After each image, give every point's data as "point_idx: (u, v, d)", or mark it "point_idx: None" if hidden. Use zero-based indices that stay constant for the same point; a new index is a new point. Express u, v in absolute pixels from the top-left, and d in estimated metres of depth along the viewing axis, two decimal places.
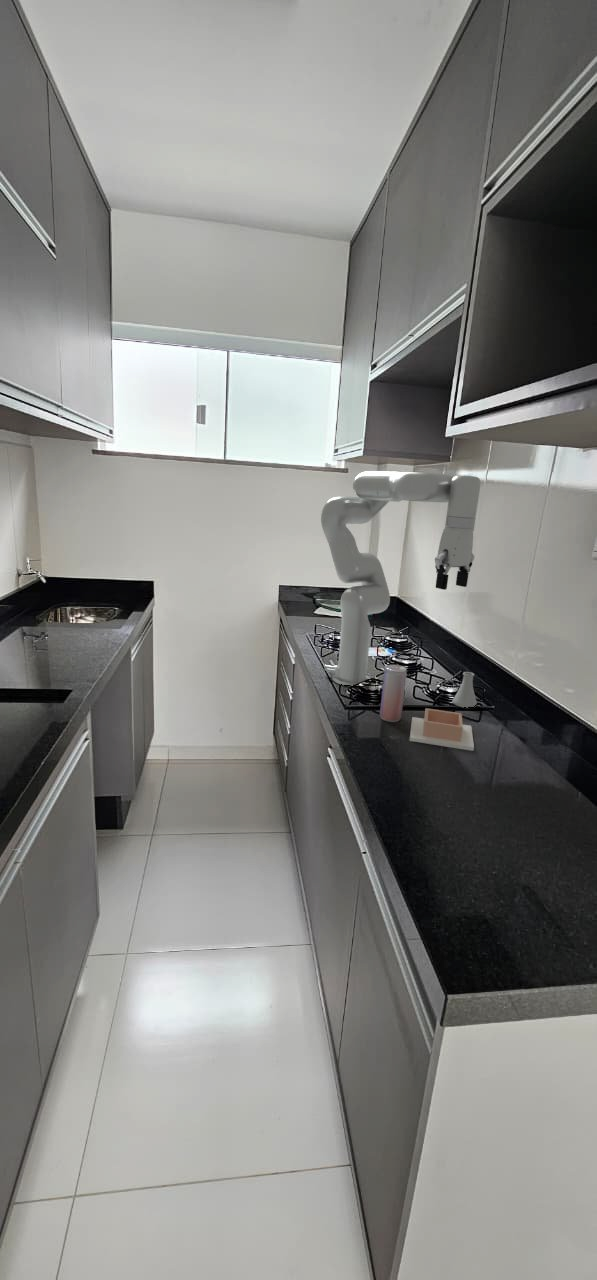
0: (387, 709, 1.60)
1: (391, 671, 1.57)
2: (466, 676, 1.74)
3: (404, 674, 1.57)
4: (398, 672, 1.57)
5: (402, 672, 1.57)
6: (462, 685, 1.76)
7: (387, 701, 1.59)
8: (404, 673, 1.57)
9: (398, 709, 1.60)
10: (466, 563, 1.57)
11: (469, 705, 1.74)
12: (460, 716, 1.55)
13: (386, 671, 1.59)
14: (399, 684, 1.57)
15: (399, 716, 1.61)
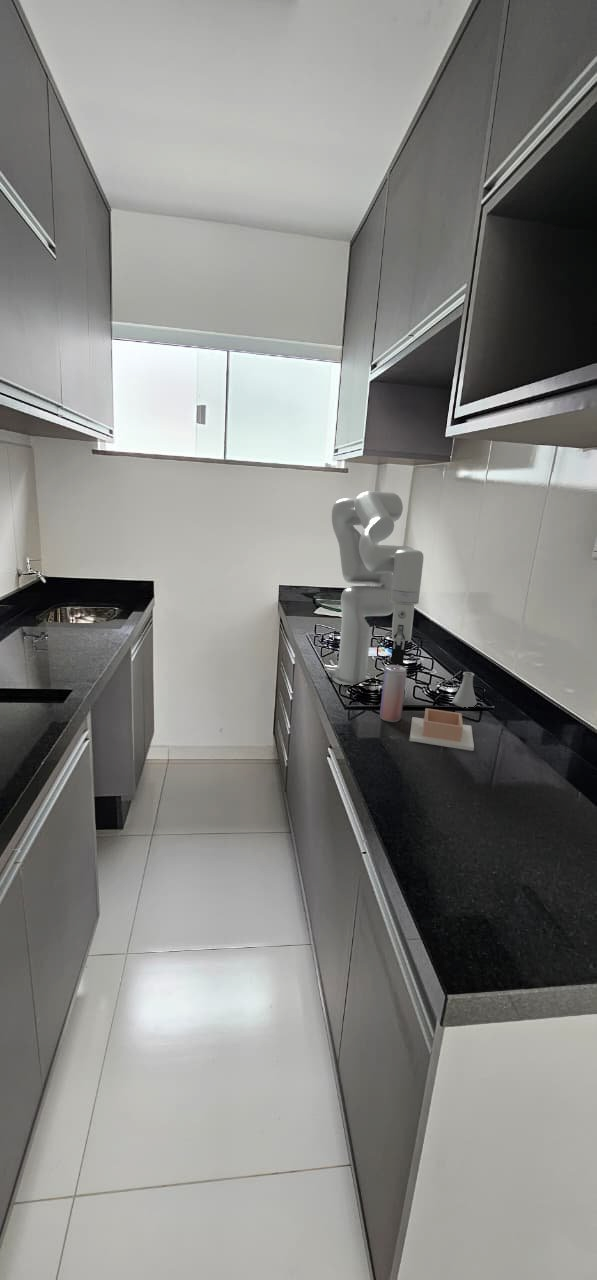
0: (387, 709, 1.60)
1: (391, 671, 1.57)
2: (466, 676, 1.74)
3: (404, 674, 1.57)
4: (398, 672, 1.57)
5: (402, 672, 1.57)
6: (462, 685, 1.76)
7: (387, 701, 1.59)
8: (404, 673, 1.57)
9: (398, 709, 1.60)
10: None
11: (469, 705, 1.74)
12: (460, 716, 1.55)
13: (385, 671, 1.59)
14: (399, 684, 1.57)
15: (399, 716, 1.61)
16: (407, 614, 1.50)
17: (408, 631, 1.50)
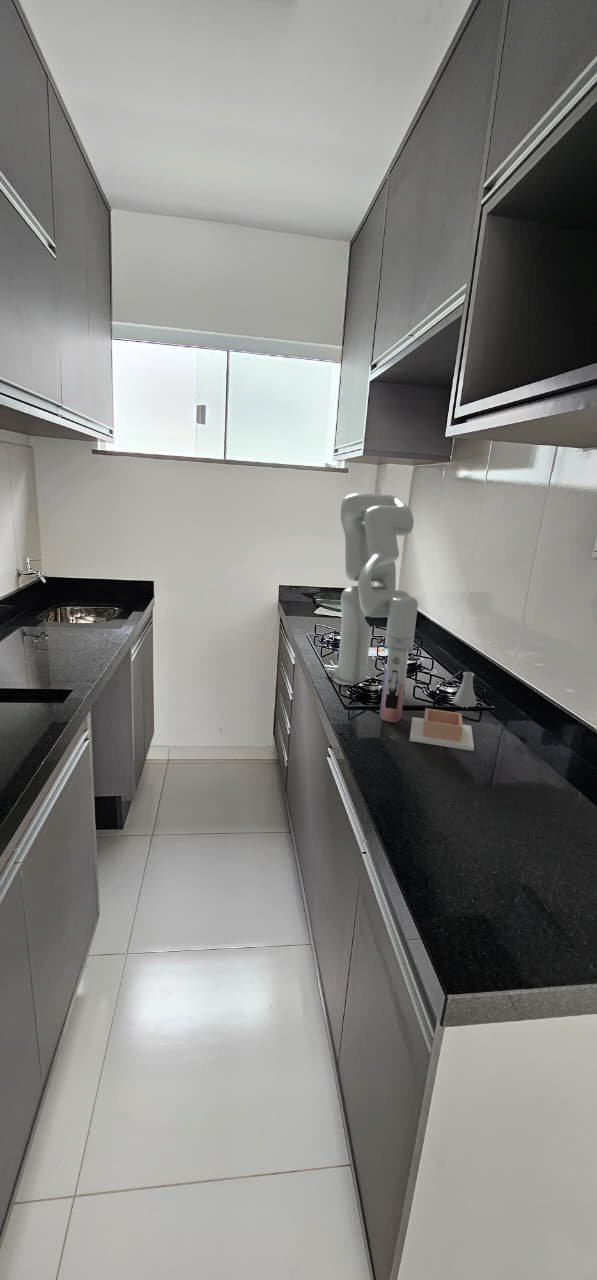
0: (387, 709, 1.60)
1: None
2: (466, 676, 1.74)
3: None
4: None
5: None
6: (462, 685, 1.76)
7: None
8: None
9: (398, 709, 1.60)
10: None
11: (469, 705, 1.74)
12: (460, 716, 1.55)
13: (386, 671, 1.59)
14: None
15: (399, 716, 1.61)
16: (401, 660, 1.53)
17: (402, 676, 1.54)
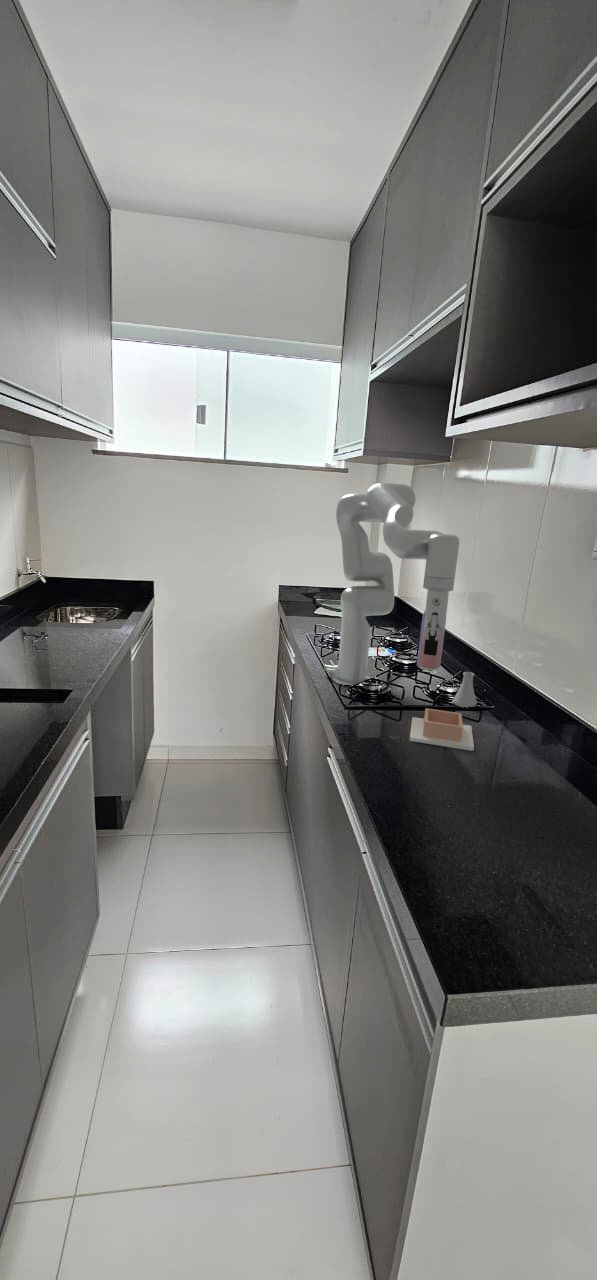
0: (425, 656, 1.50)
1: None
2: (466, 676, 1.74)
3: None
4: None
5: None
6: (462, 685, 1.76)
7: None
8: None
9: (437, 656, 1.49)
10: None
11: (469, 705, 1.74)
12: (460, 716, 1.55)
13: (424, 615, 1.49)
14: None
15: (438, 664, 1.51)
16: (442, 601, 1.43)
17: (443, 619, 1.44)
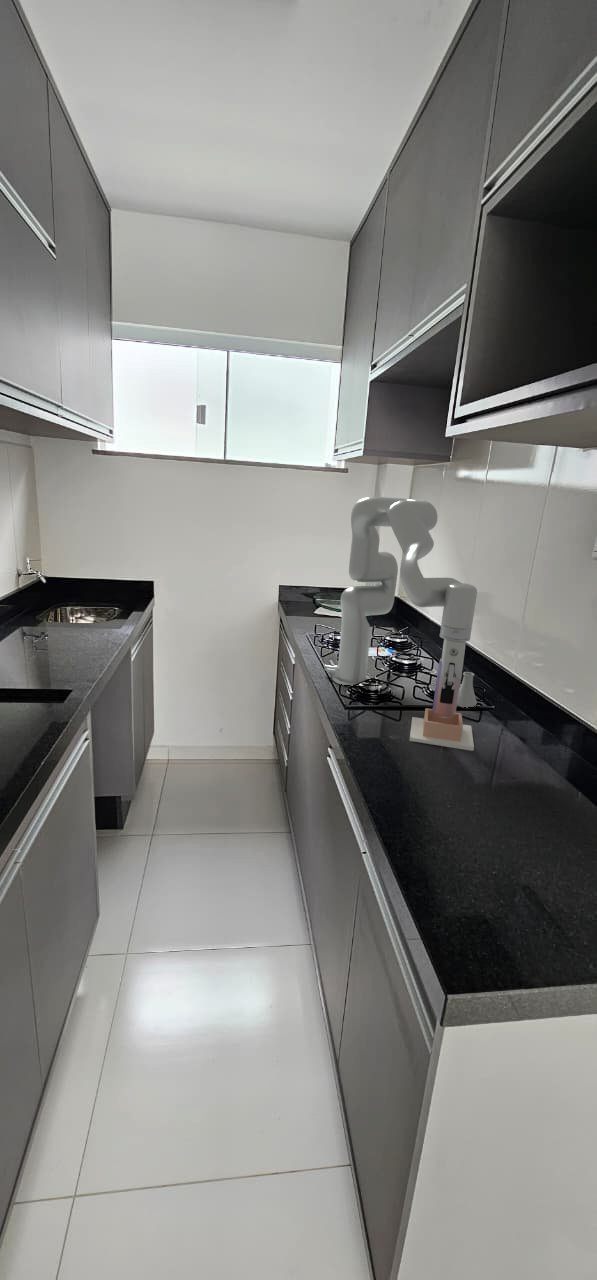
0: (441, 704, 1.50)
1: None
2: (466, 676, 1.74)
3: None
4: None
5: None
6: (462, 685, 1.76)
7: None
8: None
9: (453, 704, 1.50)
10: None
11: (469, 705, 1.74)
12: (460, 716, 1.55)
13: (440, 663, 1.49)
14: (455, 678, 1.47)
15: (454, 712, 1.51)
16: (459, 652, 1.43)
17: (460, 669, 1.44)
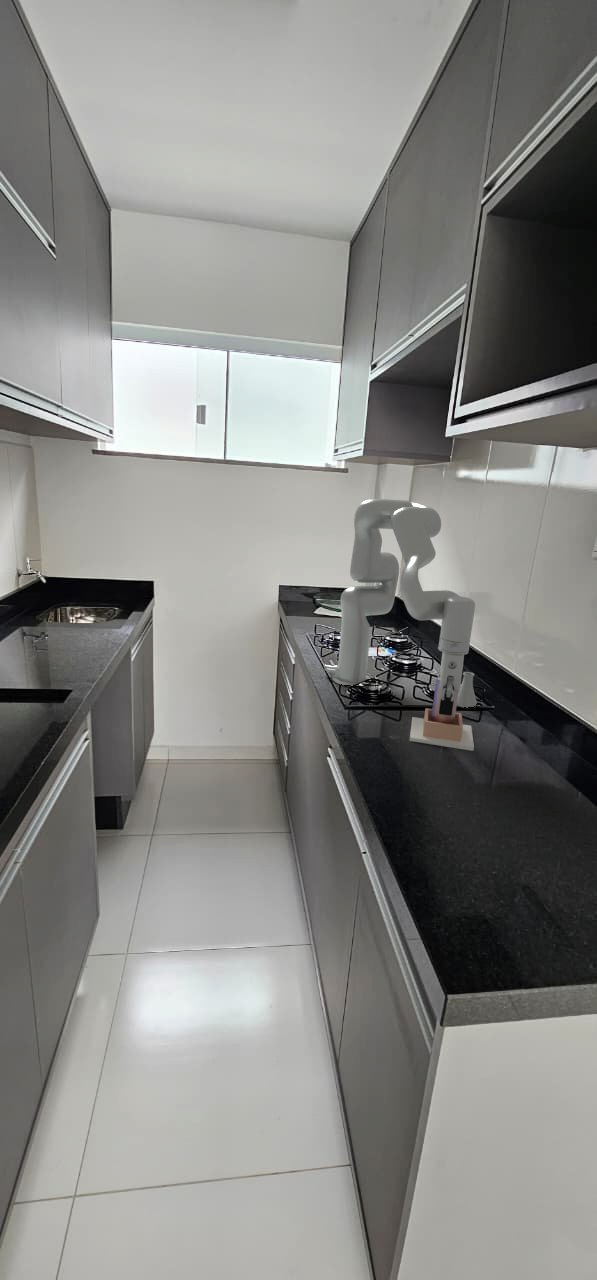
0: (438, 721, 1.51)
1: None
2: (466, 676, 1.74)
3: None
4: None
5: None
6: (462, 685, 1.76)
7: None
8: None
9: (450, 721, 1.51)
10: None
11: (469, 705, 1.74)
12: (460, 716, 1.55)
13: (438, 681, 1.50)
14: None
15: None
16: (457, 665, 1.44)
17: (458, 682, 1.45)
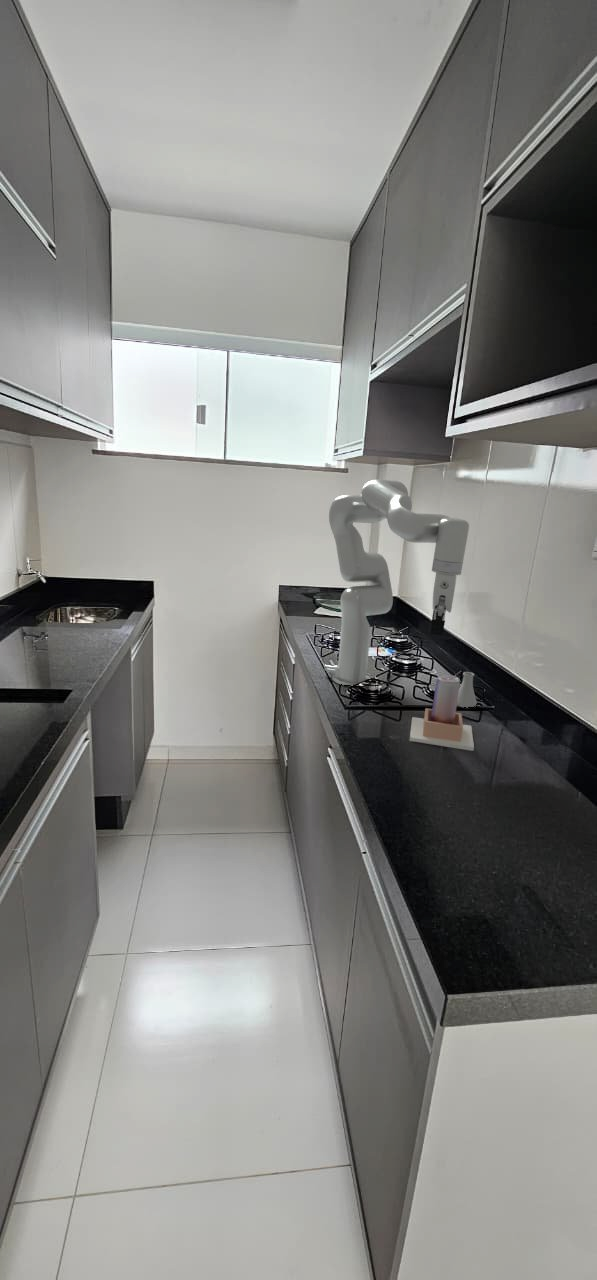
0: (438, 721, 1.51)
1: (444, 681, 1.48)
2: (466, 676, 1.74)
3: (458, 685, 1.49)
4: (452, 683, 1.48)
5: (456, 683, 1.48)
6: (462, 685, 1.76)
7: (440, 713, 1.50)
8: (458, 684, 1.49)
9: (450, 721, 1.51)
10: None
11: (469, 705, 1.74)
12: (460, 716, 1.55)
13: (438, 681, 1.50)
14: (452, 696, 1.49)
15: None
16: (450, 585, 1.47)
17: (450, 602, 1.48)
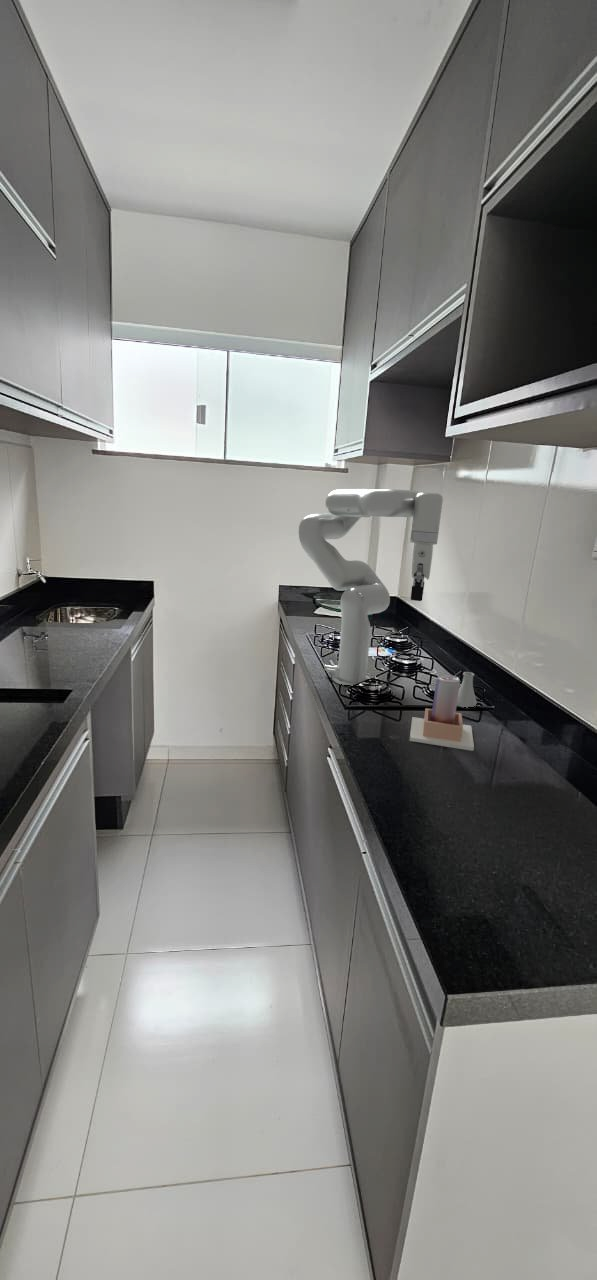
0: (438, 721, 1.51)
1: (444, 681, 1.48)
2: (466, 676, 1.74)
3: (458, 685, 1.49)
4: (452, 683, 1.48)
5: (456, 683, 1.48)
6: (462, 685, 1.76)
7: (440, 713, 1.50)
8: (458, 684, 1.49)
9: (450, 721, 1.51)
10: None
11: (469, 705, 1.74)
12: (460, 716, 1.55)
13: (438, 681, 1.50)
14: (452, 696, 1.49)
15: None
16: (427, 553, 1.60)
17: (427, 569, 1.60)
